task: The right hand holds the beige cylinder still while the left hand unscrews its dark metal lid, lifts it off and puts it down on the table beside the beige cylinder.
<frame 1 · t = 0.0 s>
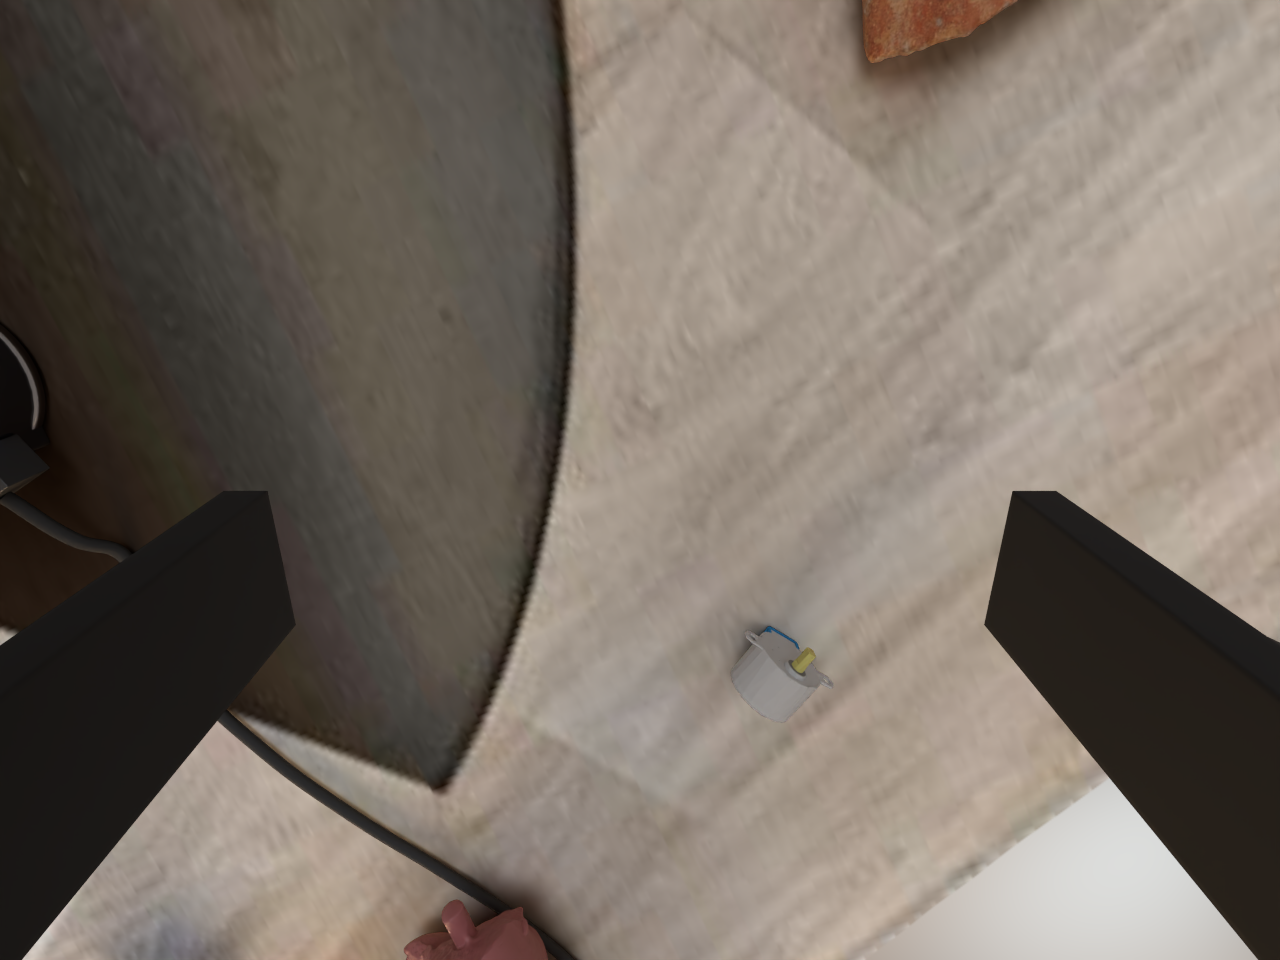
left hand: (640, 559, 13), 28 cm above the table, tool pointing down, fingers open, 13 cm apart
electric motor: (774, 640, 46), on the table
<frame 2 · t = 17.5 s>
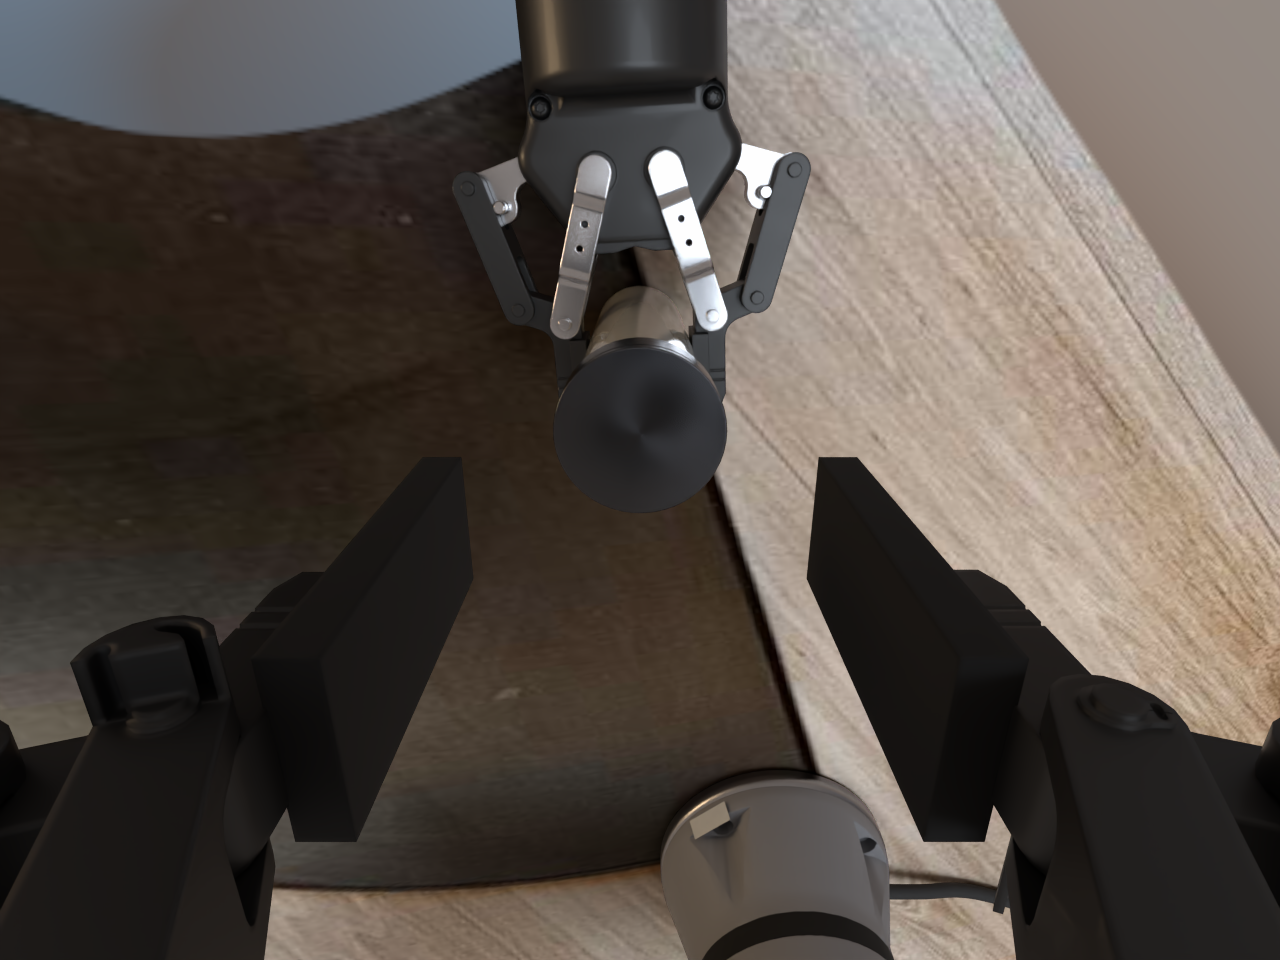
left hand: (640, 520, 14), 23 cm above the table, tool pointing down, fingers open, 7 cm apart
right hand: (644, 415, 31), fingers closed on beige cylinder, 4 cm apart
lid: (640, 430, 20), point 17 cm above the table, screwed on, not yet turned
beige cylinder: (640, 329, 35), on the table, touching right hand
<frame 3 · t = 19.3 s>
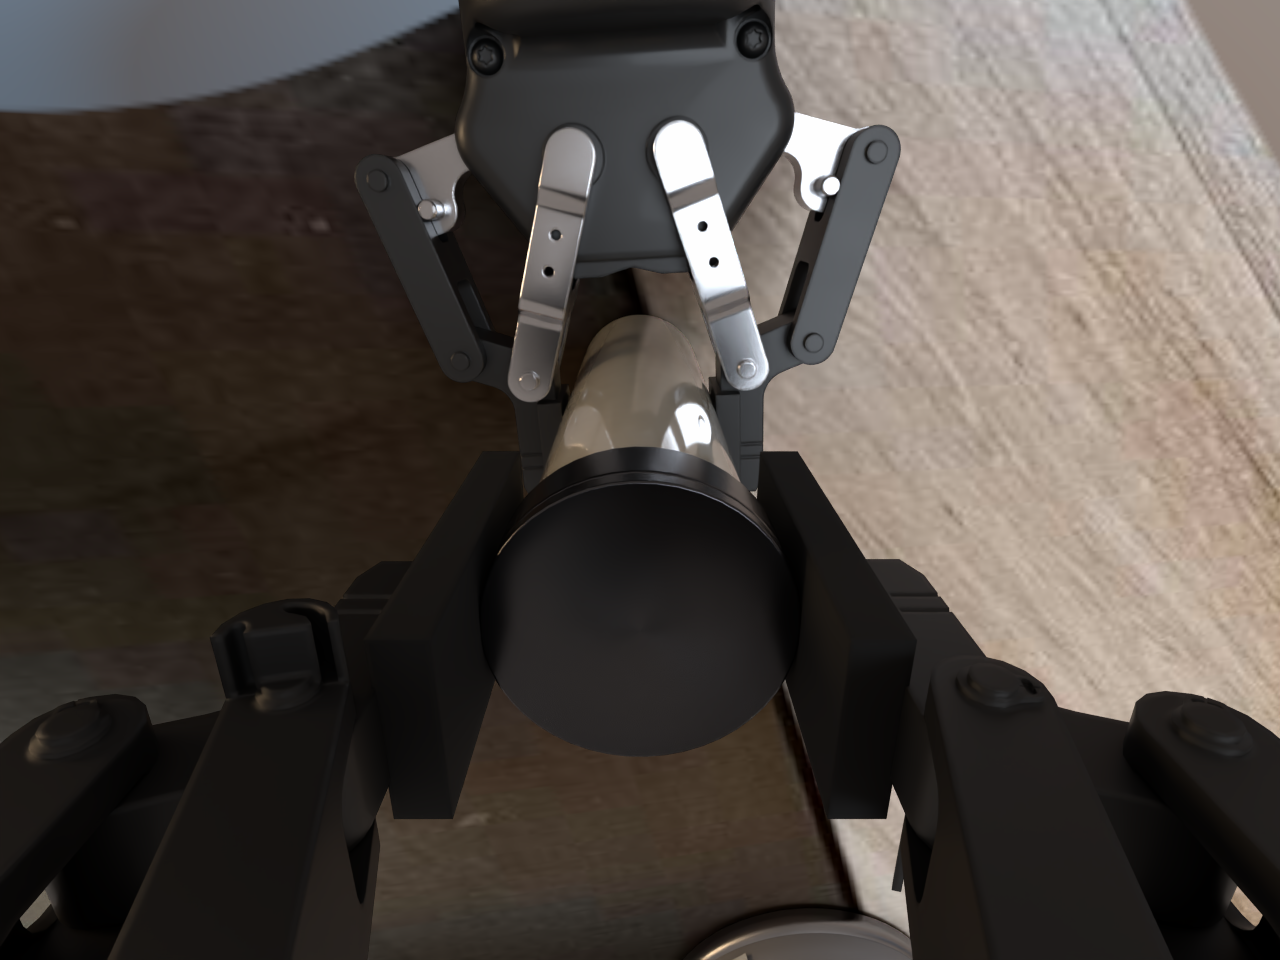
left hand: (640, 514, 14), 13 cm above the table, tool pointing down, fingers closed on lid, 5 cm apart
right hand: (645, 502, 22), fingers closed on beige cylinder, 4 cm apart
lid: (640, 618, 11), point 17 cm above the table, screwed on, not yet turned, touching left hand
beige cylinder: (640, 372, 27), on the table, touching right hand
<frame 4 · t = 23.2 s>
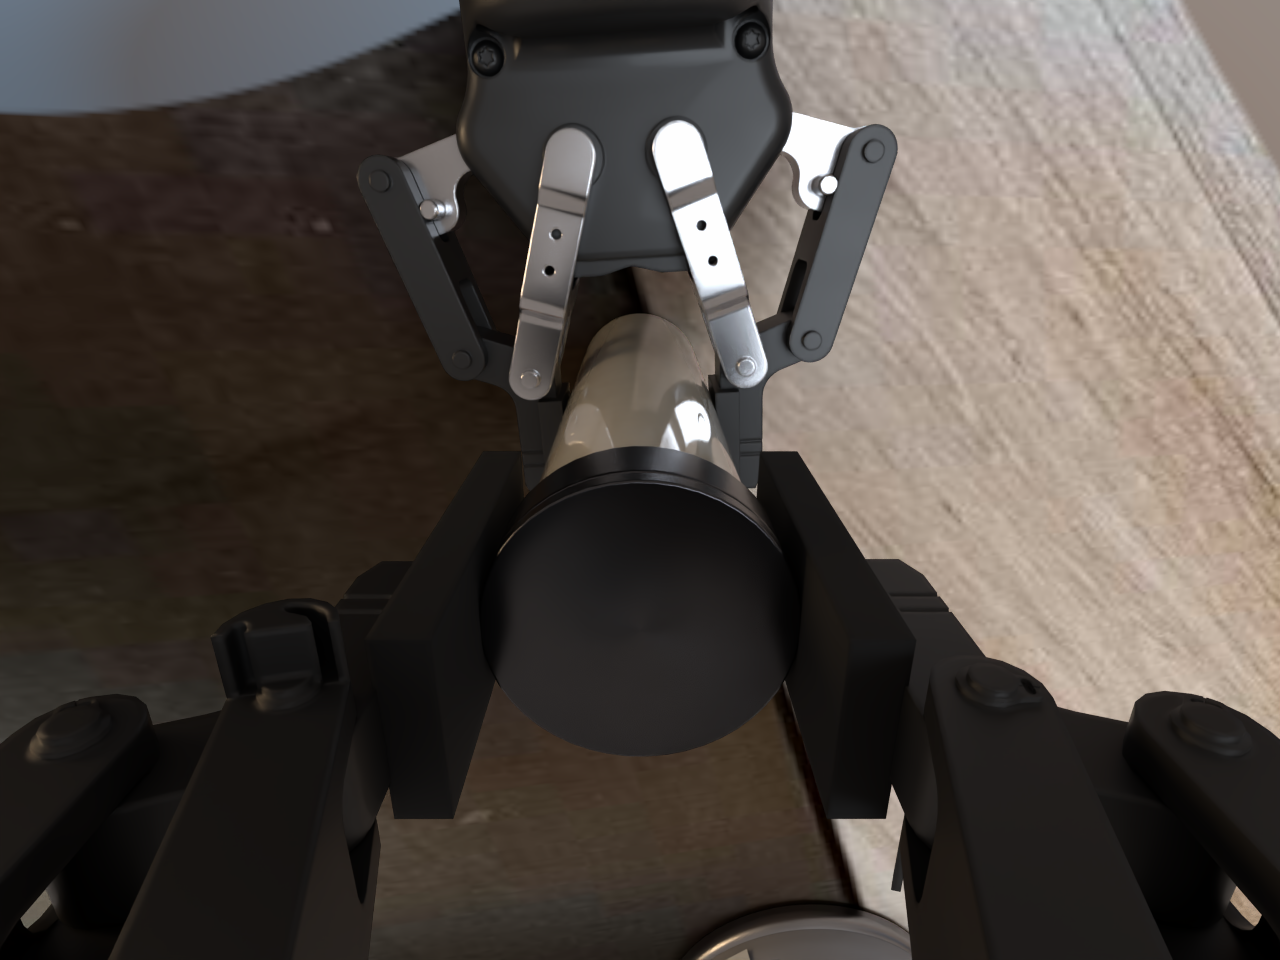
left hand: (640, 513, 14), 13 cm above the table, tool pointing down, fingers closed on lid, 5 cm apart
right hand: (646, 499, 22), fingers closed on beige cylinder, 4 cm apart
lid: (640, 618, 11), point 17 cm above the table, turned 128° so far, risen 0.2 cm, still on its thread, touching left hand
beige cylinder: (640, 371, 27), on the table, touching right hand
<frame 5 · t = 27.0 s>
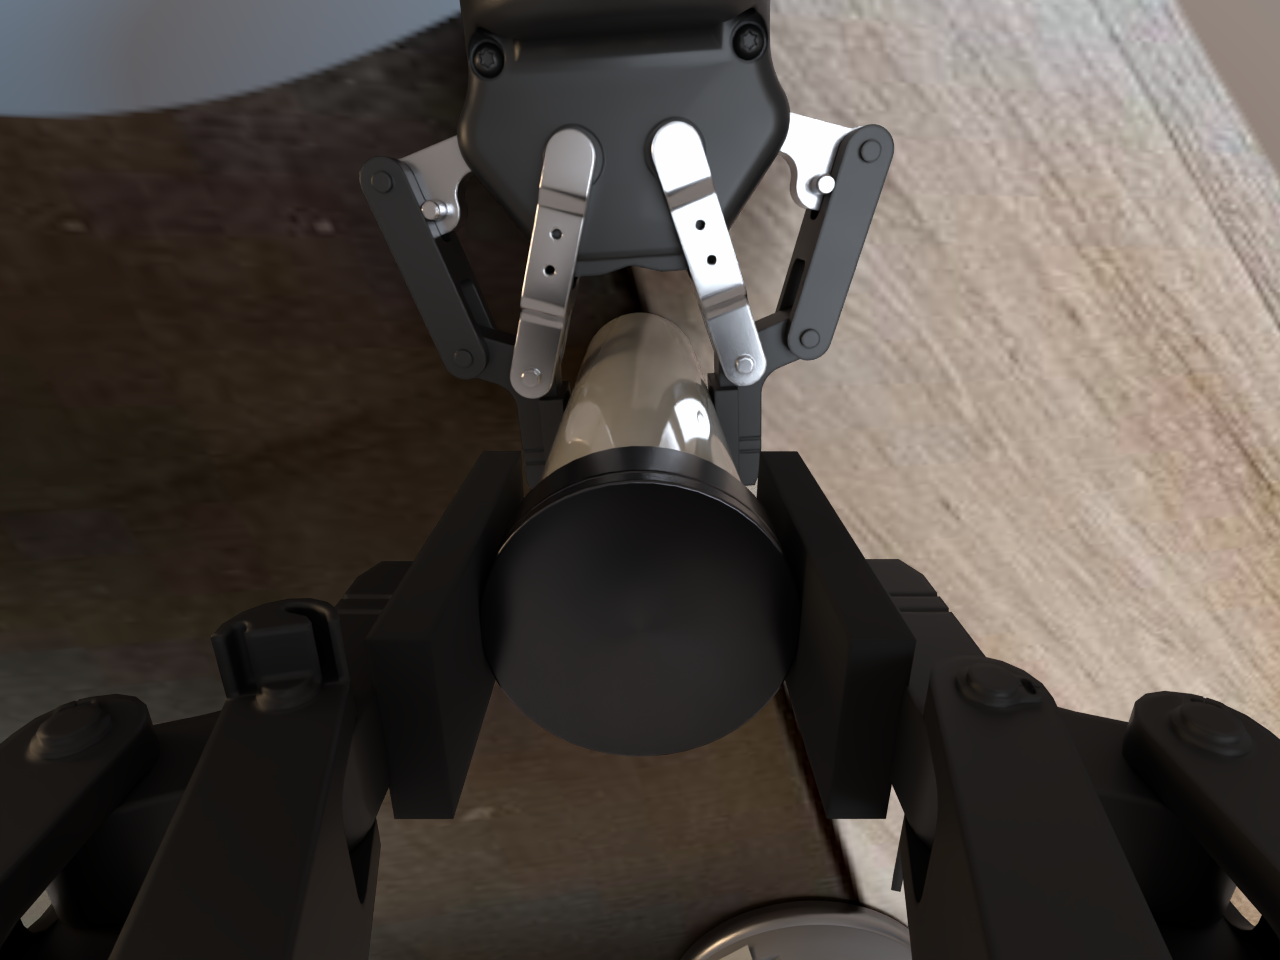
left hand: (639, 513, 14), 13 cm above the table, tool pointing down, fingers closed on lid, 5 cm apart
right hand: (646, 497, 22), fingers closed on beige cylinder, 4 cm apart
lid: (640, 617, 11), point 17 cm above the table, turned 255° so far, risen 0.4 cm, still on its thread, touching left hand
beige cylinder: (640, 369, 27), on the table, touching right hand
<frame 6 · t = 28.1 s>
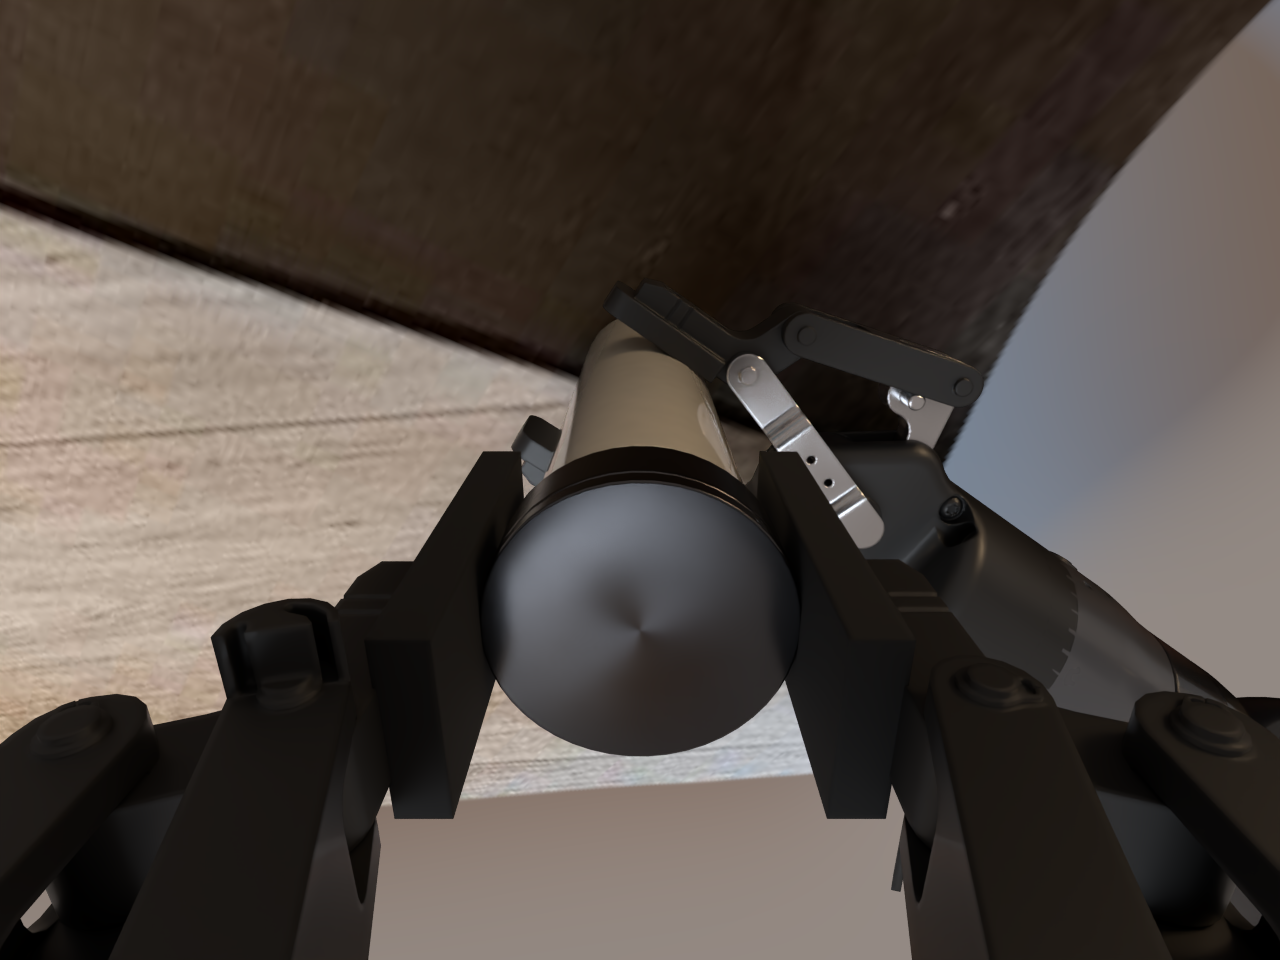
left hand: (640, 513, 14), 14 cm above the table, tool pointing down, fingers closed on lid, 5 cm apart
lid: (640, 617, 11), point 18 cm above the table, off its thread, touching left hand
beige cylinder: (641, 370, 27), on the table, touching right hand
when the left hand's fingers open (0 cm above the table, at t = 34.0 s): lid drops 3 cm, point 1 cm above the table.
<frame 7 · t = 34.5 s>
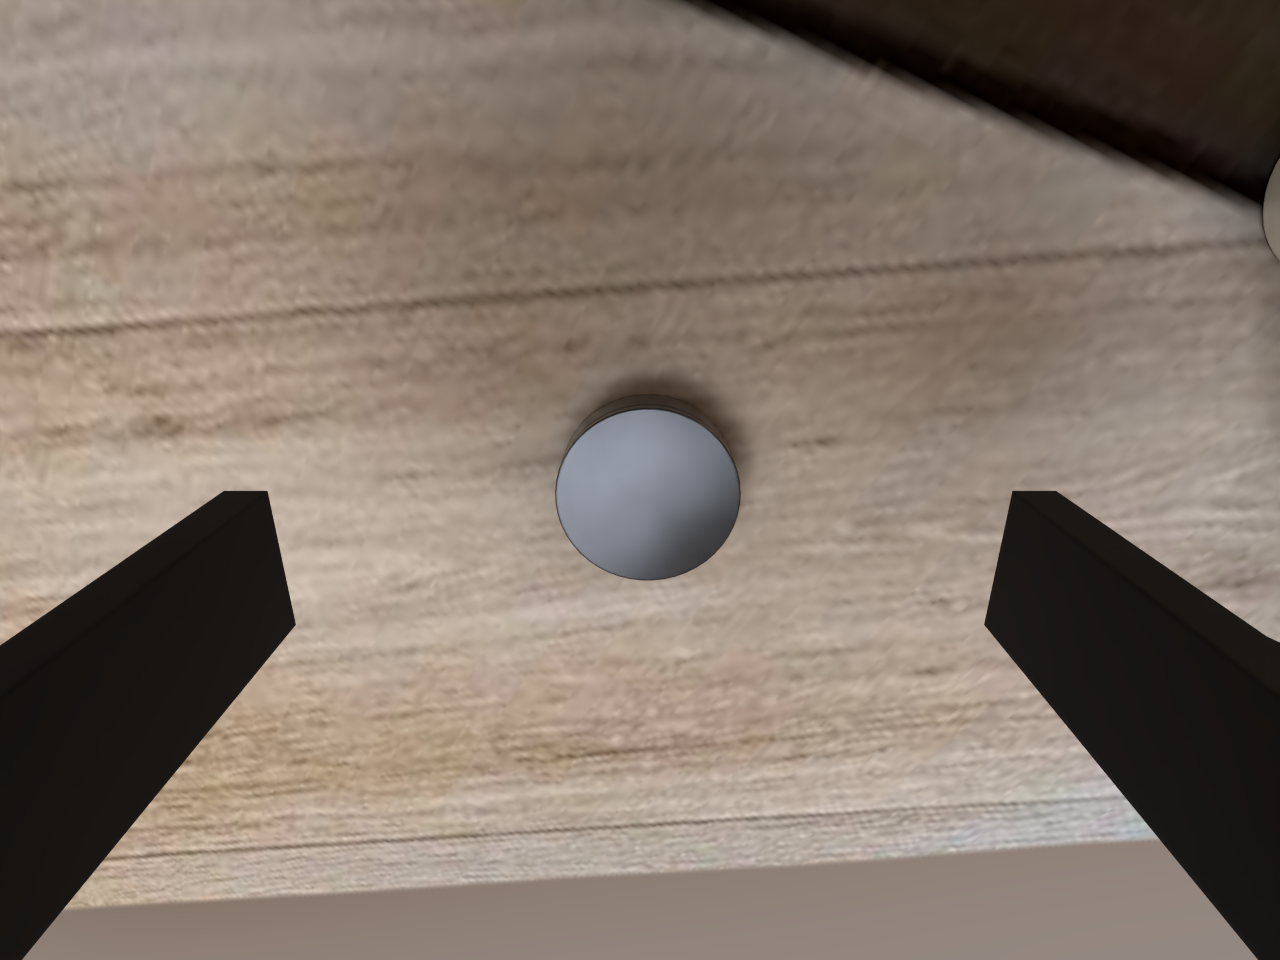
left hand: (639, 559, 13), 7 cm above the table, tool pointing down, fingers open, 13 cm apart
lid: (647, 493, 19), point 1 cm above the table, off its thread
when the right hand's fingers open (6 cm above the table, at t = 34.6 s): beige cylinder stays where it is, on the table.
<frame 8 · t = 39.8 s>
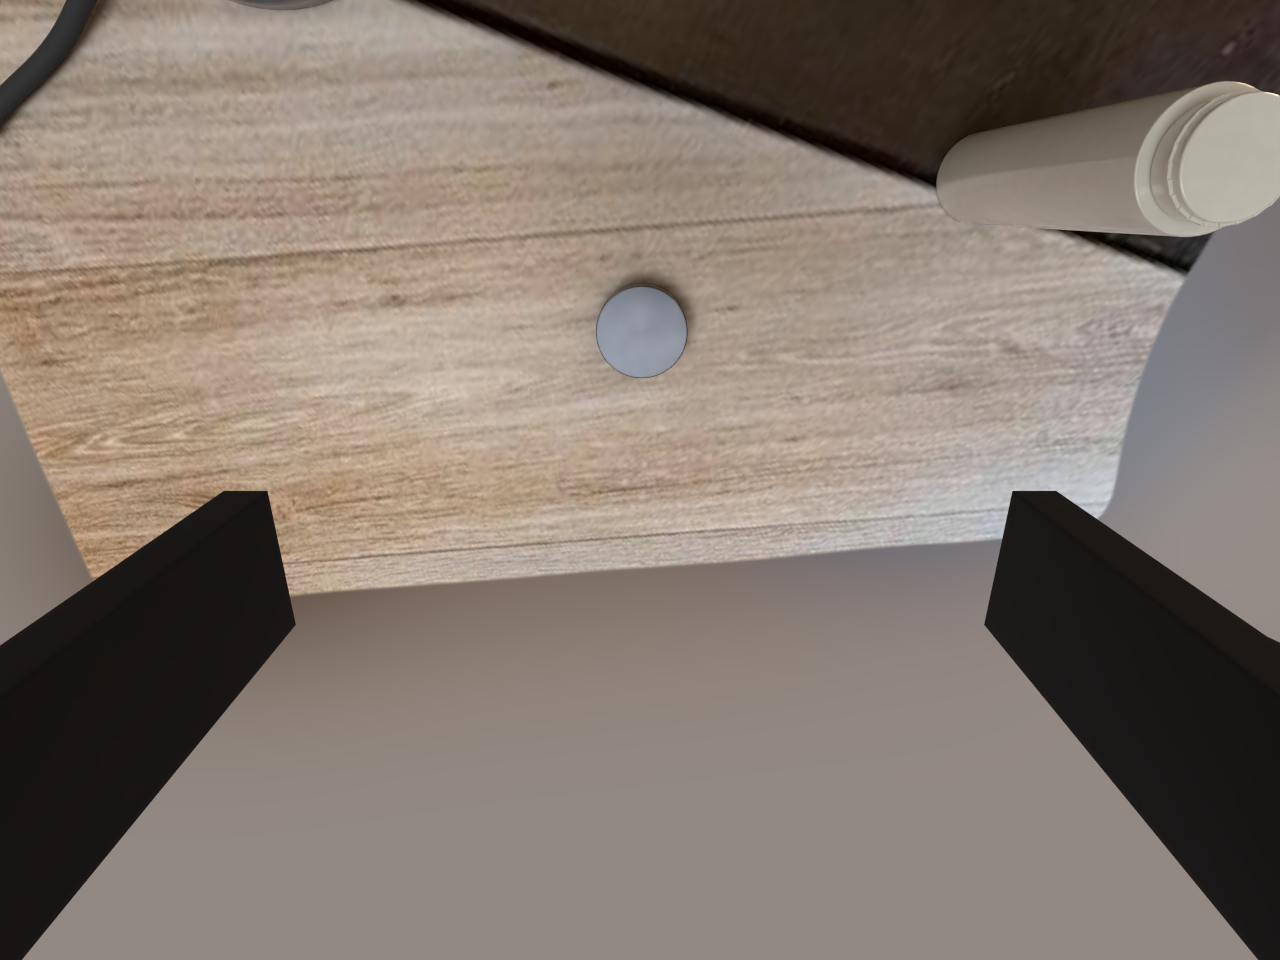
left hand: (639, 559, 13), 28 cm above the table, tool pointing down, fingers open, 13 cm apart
lid: (641, 332, 37), point 1 cm above the table, off its thread
beige cylinder: (978, 178, 36), on the table
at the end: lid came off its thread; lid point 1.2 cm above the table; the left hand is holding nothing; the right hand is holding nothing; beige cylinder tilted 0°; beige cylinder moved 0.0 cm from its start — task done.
